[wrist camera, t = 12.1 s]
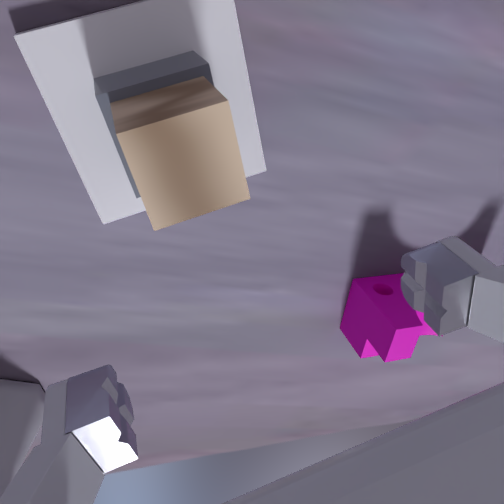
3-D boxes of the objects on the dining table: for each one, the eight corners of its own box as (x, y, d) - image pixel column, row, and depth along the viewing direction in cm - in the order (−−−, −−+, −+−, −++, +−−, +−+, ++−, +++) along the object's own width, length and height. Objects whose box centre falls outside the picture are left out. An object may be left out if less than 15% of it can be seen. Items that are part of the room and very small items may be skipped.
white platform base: (225, -22, 25) (251, -18, 22) (261, 165, 33) (286, 194, 29) (16, 33, 24) (2, 48, 20) (102, 217, 31) (105, 255, 27)
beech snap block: (203, 76, 23) (228, 100, 19) (224, 162, 26) (250, 198, 22) (109, 103, 22) (116, 134, 18) (142, 188, 25) (154, 231, 21)
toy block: (338, 327, 46) (377, 382, 40) (352, 277, 42) (396, 329, 36) (455, 309, 50) (506, 356, 44) (475, 263, 47) (533, 307, 41)
